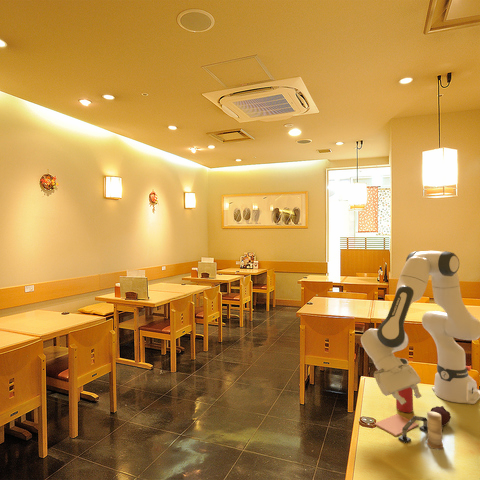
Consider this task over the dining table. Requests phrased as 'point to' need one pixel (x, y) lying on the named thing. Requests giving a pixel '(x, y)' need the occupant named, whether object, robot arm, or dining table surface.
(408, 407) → the beer can
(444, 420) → the icecream
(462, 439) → the dining table surface
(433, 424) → the birch post
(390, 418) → the tile
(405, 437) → the bent metal handle
